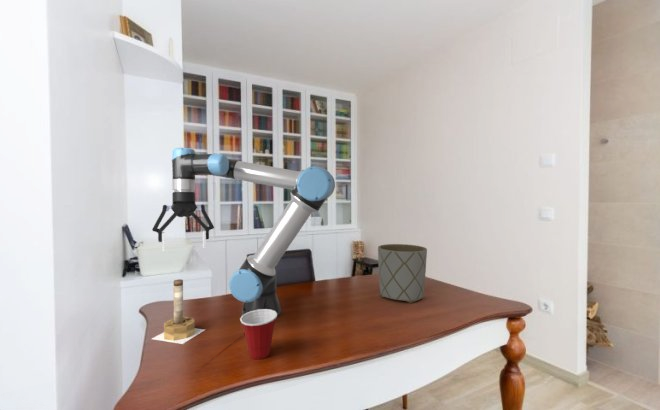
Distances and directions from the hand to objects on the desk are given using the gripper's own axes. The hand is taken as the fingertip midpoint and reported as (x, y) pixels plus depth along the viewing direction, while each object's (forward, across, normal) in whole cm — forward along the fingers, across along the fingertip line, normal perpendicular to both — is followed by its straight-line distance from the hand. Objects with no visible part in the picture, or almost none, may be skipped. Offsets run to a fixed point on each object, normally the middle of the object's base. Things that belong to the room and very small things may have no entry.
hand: (184, 249), depth 115 cm
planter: (+28, -94, +10) cm, 98 cm away
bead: (+26, +2, +10) cm, 29 cm away
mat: (+28, +2, +10) cm, 30 cm away
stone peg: (+26, +3, +10) cm, 29 cm away
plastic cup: (+28, -18, +34) cm, 48 cm away
